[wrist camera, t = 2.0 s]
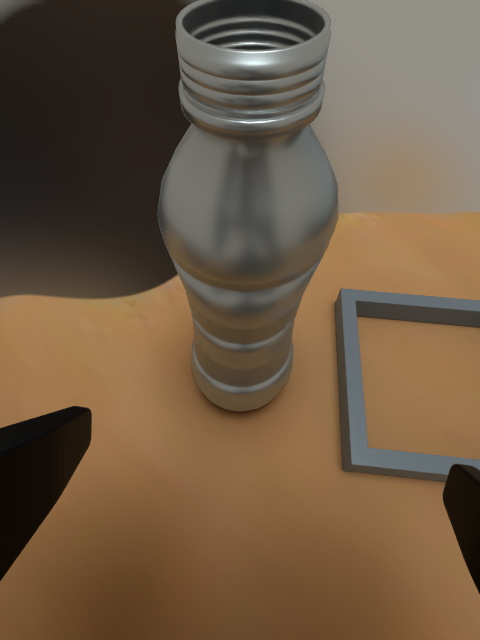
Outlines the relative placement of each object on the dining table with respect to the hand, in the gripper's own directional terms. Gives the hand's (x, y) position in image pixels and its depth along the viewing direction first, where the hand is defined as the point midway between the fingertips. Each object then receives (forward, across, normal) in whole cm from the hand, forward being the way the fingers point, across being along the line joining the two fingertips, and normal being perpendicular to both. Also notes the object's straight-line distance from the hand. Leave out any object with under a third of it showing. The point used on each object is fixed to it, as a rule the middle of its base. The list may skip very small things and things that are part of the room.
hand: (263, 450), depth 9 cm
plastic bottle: (+16, +1, +5) cm, 16 cm away
